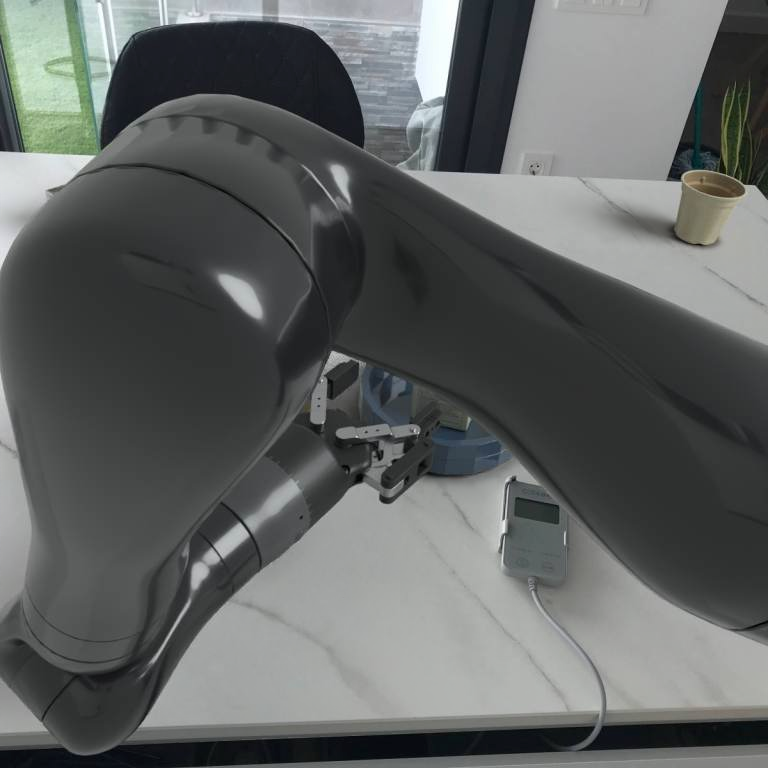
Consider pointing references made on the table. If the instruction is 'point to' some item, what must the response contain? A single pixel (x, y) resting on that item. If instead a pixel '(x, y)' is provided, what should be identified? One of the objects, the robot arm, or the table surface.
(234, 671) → the table surface
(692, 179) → the flower pot
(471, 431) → the serving bowl
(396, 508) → the table surface
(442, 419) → the cosmetic box
